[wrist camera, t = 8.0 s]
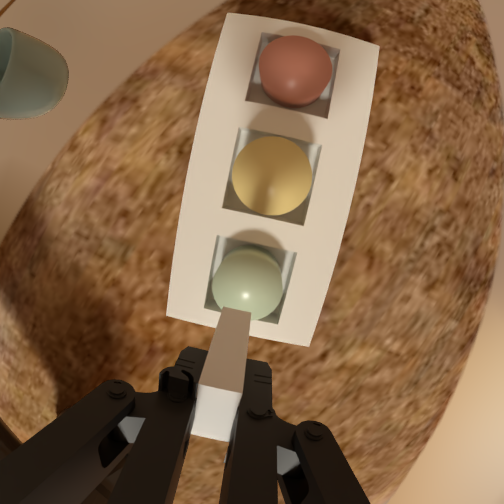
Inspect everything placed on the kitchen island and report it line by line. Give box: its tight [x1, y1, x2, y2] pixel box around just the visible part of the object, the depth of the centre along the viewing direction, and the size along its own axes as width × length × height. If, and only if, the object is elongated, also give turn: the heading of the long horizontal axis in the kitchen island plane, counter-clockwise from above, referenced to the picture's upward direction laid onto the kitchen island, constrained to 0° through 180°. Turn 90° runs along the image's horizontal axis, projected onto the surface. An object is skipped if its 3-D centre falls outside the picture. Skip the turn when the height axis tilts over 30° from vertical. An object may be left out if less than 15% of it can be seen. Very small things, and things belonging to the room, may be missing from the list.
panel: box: [166, 13, 379, 347], centre depth 22 cm, size 12×25×3 cm, turn 168°
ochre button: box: [232, 136, 312, 215], centre depth 20 cm, size 5×5×3 cm
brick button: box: [259, 35, 332, 108], centre depth 19 cm, size 5×5×3 cm
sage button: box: [212, 245, 283, 321], centre depth 23 cm, size 5×5×3 cm
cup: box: [0, 27, 69, 119], centre depth 18 cm, size 8×8×10 cm
